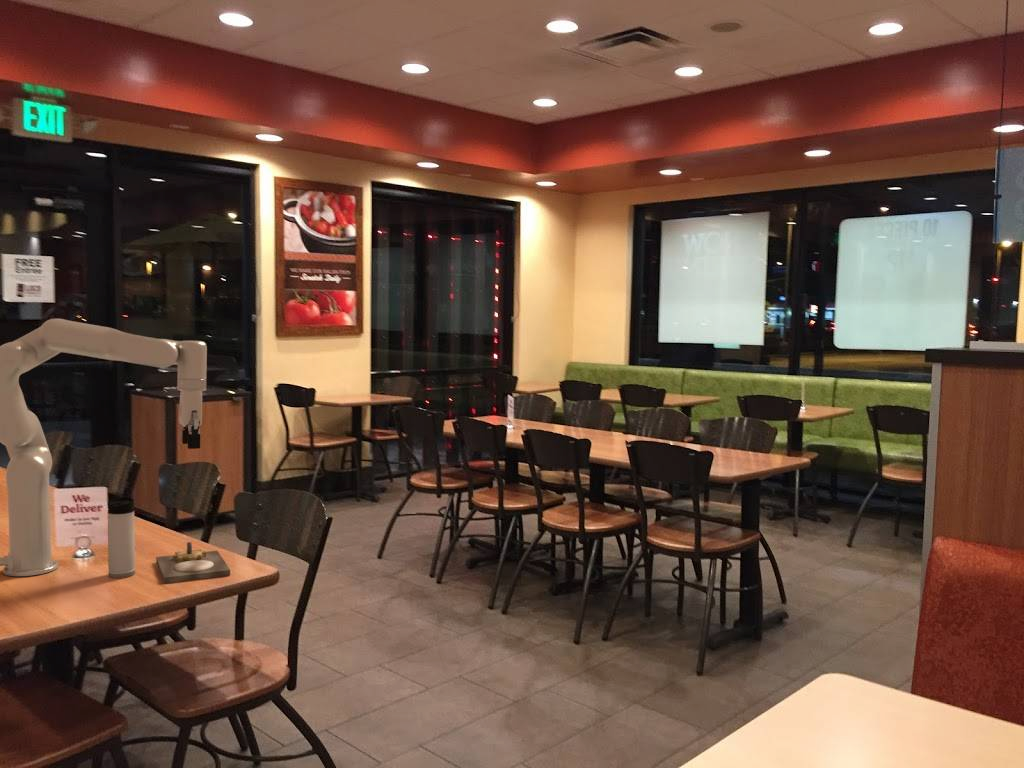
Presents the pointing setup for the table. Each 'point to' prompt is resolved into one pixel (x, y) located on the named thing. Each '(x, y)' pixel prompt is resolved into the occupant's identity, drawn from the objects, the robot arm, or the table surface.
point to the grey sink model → (191, 565)
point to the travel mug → (121, 538)
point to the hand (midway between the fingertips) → (191, 446)
